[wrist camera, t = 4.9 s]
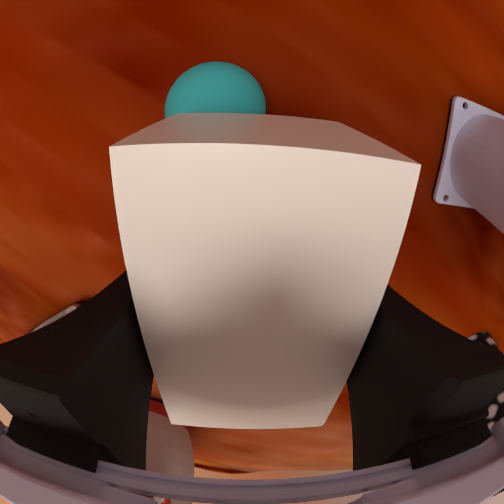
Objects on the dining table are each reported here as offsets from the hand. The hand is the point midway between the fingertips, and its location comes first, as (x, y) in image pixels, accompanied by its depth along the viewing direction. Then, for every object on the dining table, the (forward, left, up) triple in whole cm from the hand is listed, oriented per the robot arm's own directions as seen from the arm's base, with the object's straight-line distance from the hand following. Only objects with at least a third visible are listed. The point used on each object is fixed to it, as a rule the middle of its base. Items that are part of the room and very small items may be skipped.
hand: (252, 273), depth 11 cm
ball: (+2, -5, -7) cm, 9 cm away
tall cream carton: (0, 0, -2) cm, 2 cm away
